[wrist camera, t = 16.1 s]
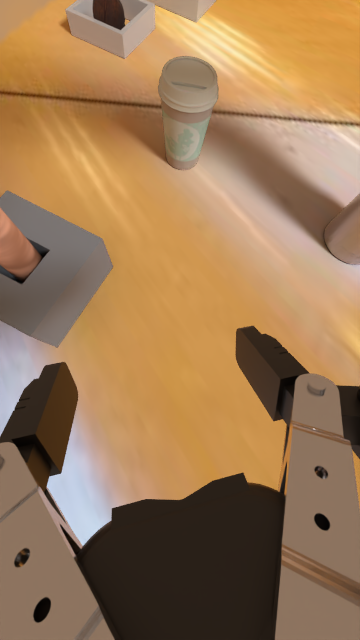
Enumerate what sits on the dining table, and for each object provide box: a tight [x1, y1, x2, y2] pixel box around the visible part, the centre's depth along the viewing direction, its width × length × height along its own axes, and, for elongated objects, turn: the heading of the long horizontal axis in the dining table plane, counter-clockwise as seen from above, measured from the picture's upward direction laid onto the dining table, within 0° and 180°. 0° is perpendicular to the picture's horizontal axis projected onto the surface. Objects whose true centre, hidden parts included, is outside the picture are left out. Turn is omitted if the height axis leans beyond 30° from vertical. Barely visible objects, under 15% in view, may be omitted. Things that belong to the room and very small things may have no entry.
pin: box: [0, 208, 43, 283], centre depth 27 cm, size 4×4×14 cm
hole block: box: [0, 191, 113, 347], centre depth 31 cm, size 14×14×7 cm
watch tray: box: [65, 0, 155, 59], centre depth 50 cm, size 13×13×4 cm
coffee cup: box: [158, 56, 218, 170], centre depth 37 cm, size 8×9×12 cm
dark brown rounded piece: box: [92, 0, 125, 30], centre depth 48 cm, size 8×8×7 cm
